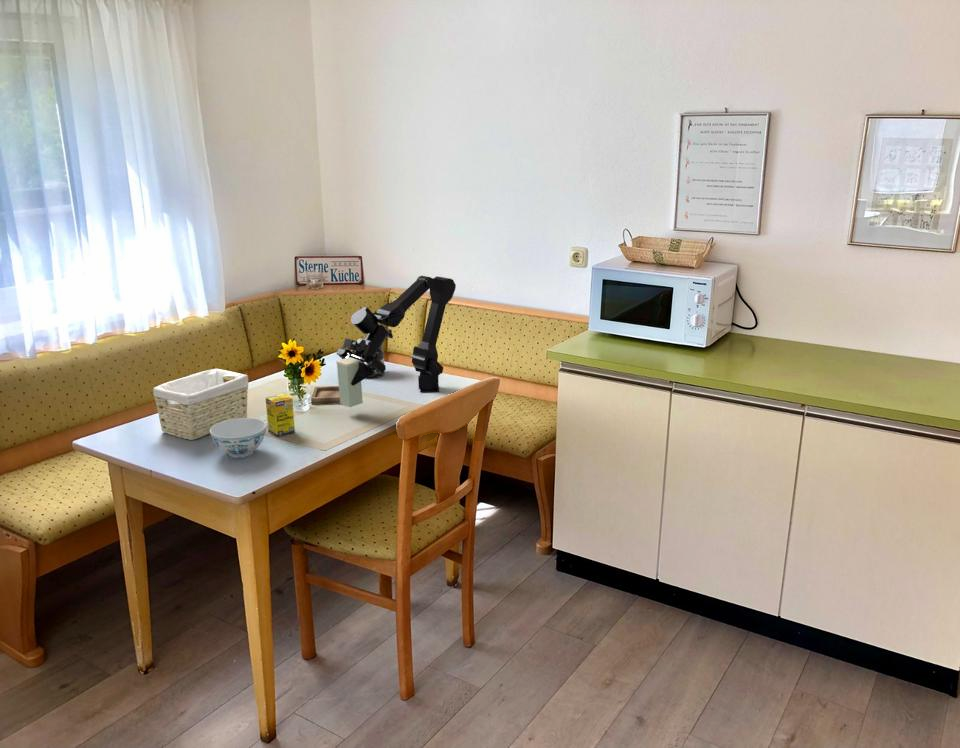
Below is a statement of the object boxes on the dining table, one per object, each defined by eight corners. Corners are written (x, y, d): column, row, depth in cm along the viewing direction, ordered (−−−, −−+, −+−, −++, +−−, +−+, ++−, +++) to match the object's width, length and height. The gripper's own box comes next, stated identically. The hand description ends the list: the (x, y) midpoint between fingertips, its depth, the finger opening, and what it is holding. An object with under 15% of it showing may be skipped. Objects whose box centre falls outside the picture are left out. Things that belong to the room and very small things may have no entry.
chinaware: (278, 445, 226) (275, 420, 224) (252, 466, 212) (249, 439, 210) (230, 440, 230) (228, 416, 227) (202, 461, 216) (199, 435, 213)
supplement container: (391, 374, 289) (389, 343, 285) (367, 381, 282) (365, 348, 278) (374, 368, 296) (372, 337, 293) (350, 374, 289) (348, 343, 286)
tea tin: (352, 399, 252) (349, 357, 248) (363, 403, 249) (360, 360, 244) (339, 403, 249) (336, 361, 244) (349, 407, 245) (346, 364, 241)
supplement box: (277, 437, 232) (274, 402, 229) (268, 431, 236) (264, 397, 233) (295, 432, 236) (292, 397, 232) (286, 426, 240) (283, 392, 237)
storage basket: (219, 409, 255) (214, 366, 250) (255, 419, 247) (250, 374, 242) (155, 434, 235) (149, 387, 231) (192, 444, 227) (186, 396, 223)
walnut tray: (350, 391, 272) (350, 385, 271) (348, 402, 260) (348, 397, 260) (315, 392, 271) (315, 386, 270) (311, 404, 259) (311, 398, 259)
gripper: (339, 322, 250) (312, 363, 246) (376, 333, 238) (349, 376, 234) (360, 341, 258) (334, 381, 254) (397, 352, 246) (371, 394, 242)
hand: (346, 383), depth 246 cm, fingers closed on tea tin, 5 cm apart
